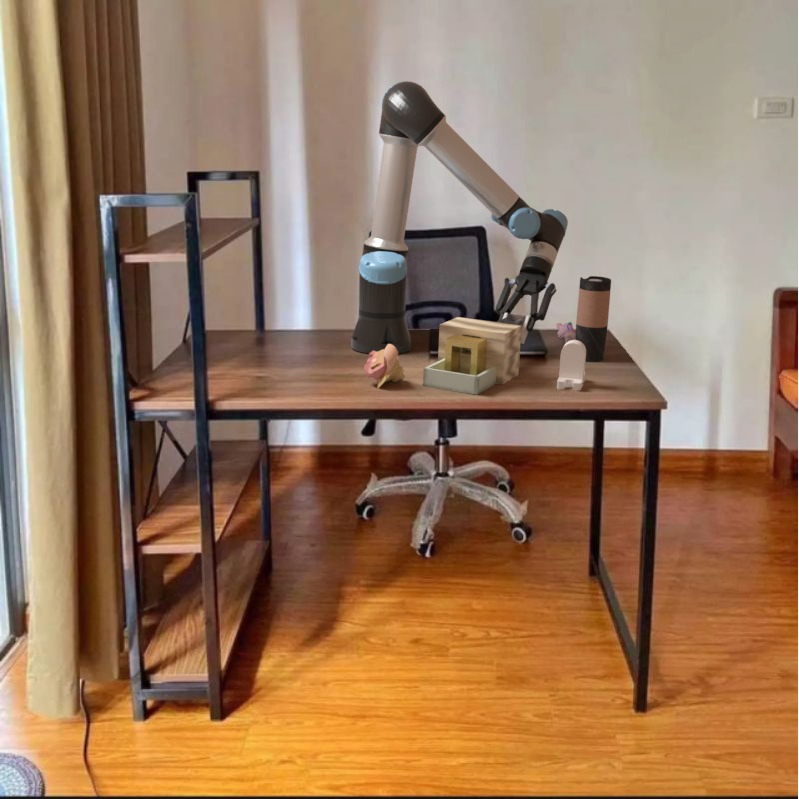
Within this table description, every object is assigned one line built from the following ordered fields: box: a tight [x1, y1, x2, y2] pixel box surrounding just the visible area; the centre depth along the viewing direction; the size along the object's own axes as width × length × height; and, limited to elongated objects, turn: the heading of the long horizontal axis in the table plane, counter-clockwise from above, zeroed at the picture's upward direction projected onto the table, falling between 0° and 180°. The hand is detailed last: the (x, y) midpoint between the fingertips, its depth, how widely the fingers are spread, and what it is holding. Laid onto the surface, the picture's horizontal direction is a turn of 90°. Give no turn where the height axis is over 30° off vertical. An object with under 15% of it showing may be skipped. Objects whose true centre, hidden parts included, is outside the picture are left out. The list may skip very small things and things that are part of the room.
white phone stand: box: [556, 340, 586, 391], centre depth 228 cm, size 5×10×10 cm, turn 165°
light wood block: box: [437, 316, 522, 385], centre depth 233 cm, size 10×16×12 cm, turn 62°
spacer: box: [445, 334, 487, 376], centre depth 227 cm, size 5×8×9 cm, turn 63°
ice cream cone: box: [363, 344, 406, 389], centre depth 225 cm, size 9×10×10 cm
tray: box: [422, 358, 497, 396], centre depth 226 cm, size 13×10×4 cm
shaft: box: [466, 314, 527, 351], centre depth 242 cm, size 28×4×4 cm, turn 152°
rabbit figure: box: [556, 321, 576, 344], centre depth 271 cm, size 6×6×15 cm
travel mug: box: [575, 275, 612, 363], centre depth 250 cm, size 8×8×20 cm
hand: (510, 338), depth 250 cm, fingers open, 5 cm apart
